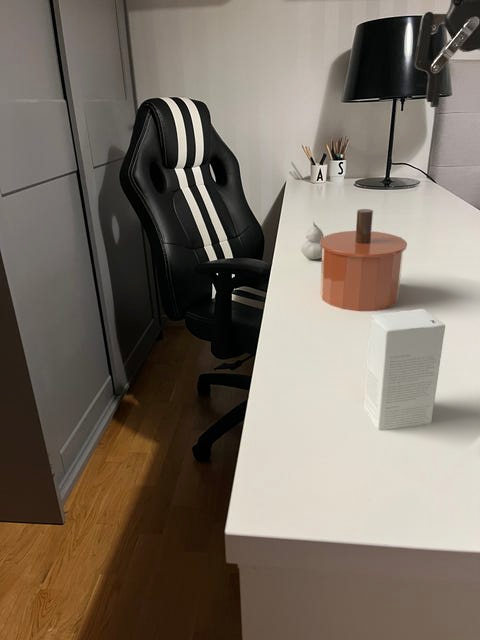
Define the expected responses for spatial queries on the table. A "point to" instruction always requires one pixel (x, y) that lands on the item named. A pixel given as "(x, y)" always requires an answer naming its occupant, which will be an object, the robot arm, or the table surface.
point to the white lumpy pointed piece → (313, 243)
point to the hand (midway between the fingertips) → (469, 105)
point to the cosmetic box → (402, 368)
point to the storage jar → (360, 281)
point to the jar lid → (363, 240)
